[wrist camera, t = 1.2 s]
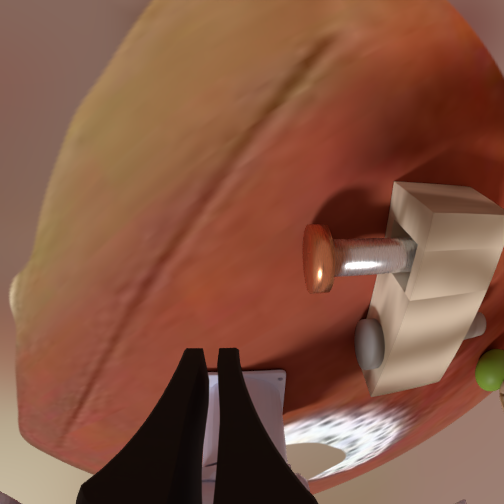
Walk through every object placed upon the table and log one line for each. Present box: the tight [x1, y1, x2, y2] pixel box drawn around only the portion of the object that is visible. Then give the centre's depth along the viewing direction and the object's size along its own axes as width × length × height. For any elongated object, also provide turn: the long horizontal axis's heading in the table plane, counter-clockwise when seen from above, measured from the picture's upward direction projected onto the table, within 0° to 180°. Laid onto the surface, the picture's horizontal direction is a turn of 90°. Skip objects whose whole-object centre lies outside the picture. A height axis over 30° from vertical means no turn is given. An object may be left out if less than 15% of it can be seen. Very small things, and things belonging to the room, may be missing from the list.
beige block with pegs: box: [355, 181, 504, 397], centre depth 20 cm, size 16×12×5 cm
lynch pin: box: [303, 224, 418, 294], centre depth 18 cm, size 4×13×4 cm, turn 91°
